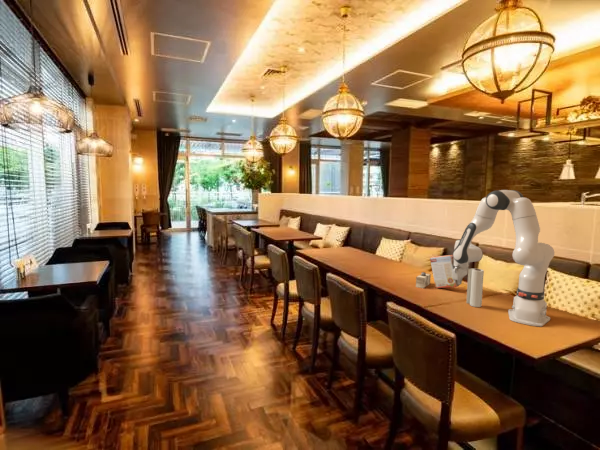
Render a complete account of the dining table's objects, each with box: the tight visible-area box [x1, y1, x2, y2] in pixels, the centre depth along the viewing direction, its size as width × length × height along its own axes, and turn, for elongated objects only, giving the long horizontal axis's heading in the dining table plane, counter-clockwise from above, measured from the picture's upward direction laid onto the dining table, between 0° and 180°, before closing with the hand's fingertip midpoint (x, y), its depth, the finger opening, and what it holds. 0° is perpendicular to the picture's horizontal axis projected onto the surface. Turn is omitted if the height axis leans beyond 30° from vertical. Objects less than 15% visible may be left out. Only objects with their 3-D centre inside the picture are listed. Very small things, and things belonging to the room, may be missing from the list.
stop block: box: [415, 271, 432, 289], centre depth 239 cm, size 14×5×9 cm, turn 141°
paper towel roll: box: [465, 267, 485, 308], centre depth 199 cm, size 7×6×21 cm
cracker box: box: [429, 254, 460, 289], centre depth 231 cm, size 14×6×21 cm, turn 46°
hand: (459, 284), depth 225 cm, fingers closed, pressing on cracker box
